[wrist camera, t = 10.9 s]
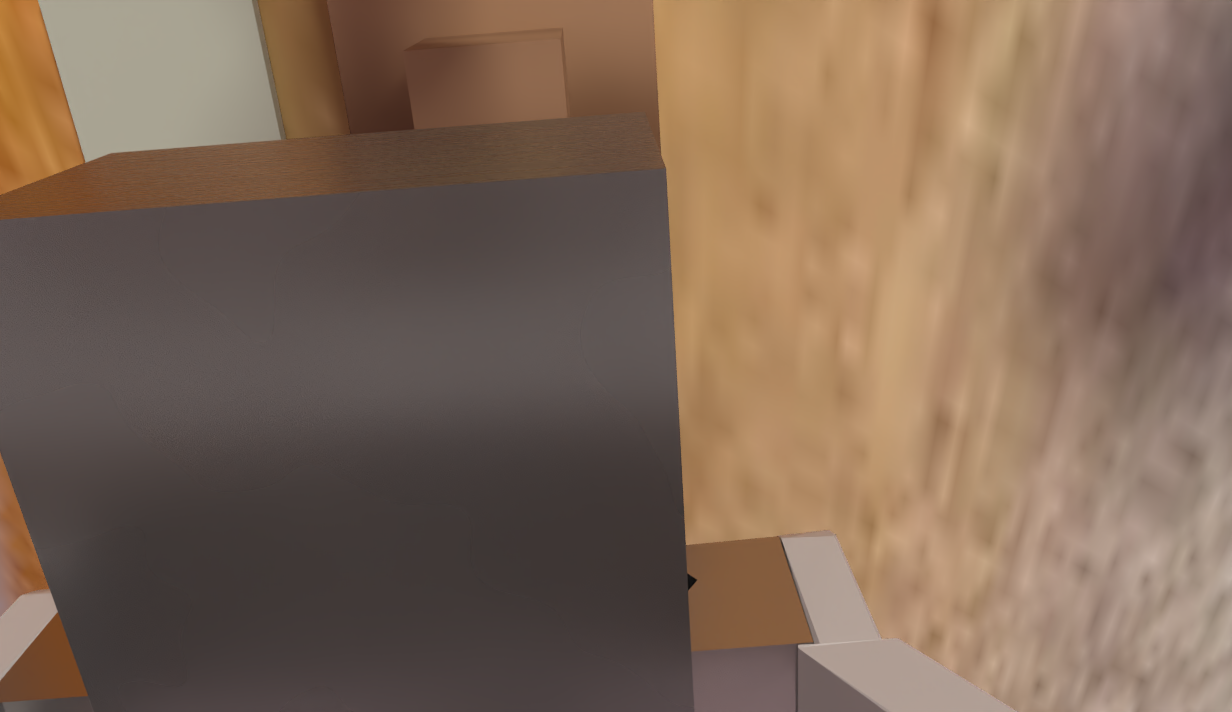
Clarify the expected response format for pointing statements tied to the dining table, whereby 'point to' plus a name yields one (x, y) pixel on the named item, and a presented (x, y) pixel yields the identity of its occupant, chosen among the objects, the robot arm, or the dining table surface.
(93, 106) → the pale grey flat slab
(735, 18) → the dining table surface
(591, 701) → the purple-grey knobbed block
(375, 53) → the plane body
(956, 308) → the dining table surface
